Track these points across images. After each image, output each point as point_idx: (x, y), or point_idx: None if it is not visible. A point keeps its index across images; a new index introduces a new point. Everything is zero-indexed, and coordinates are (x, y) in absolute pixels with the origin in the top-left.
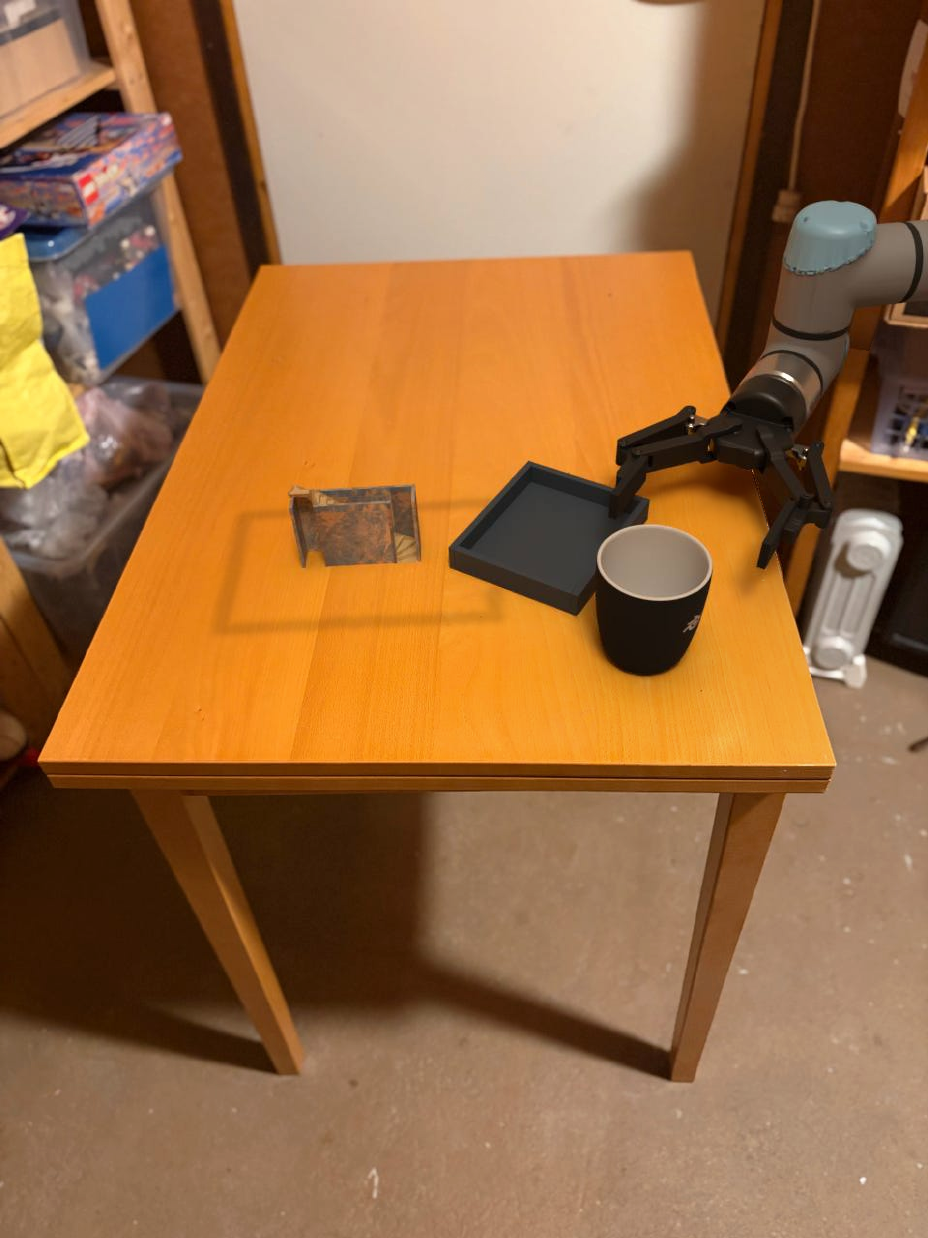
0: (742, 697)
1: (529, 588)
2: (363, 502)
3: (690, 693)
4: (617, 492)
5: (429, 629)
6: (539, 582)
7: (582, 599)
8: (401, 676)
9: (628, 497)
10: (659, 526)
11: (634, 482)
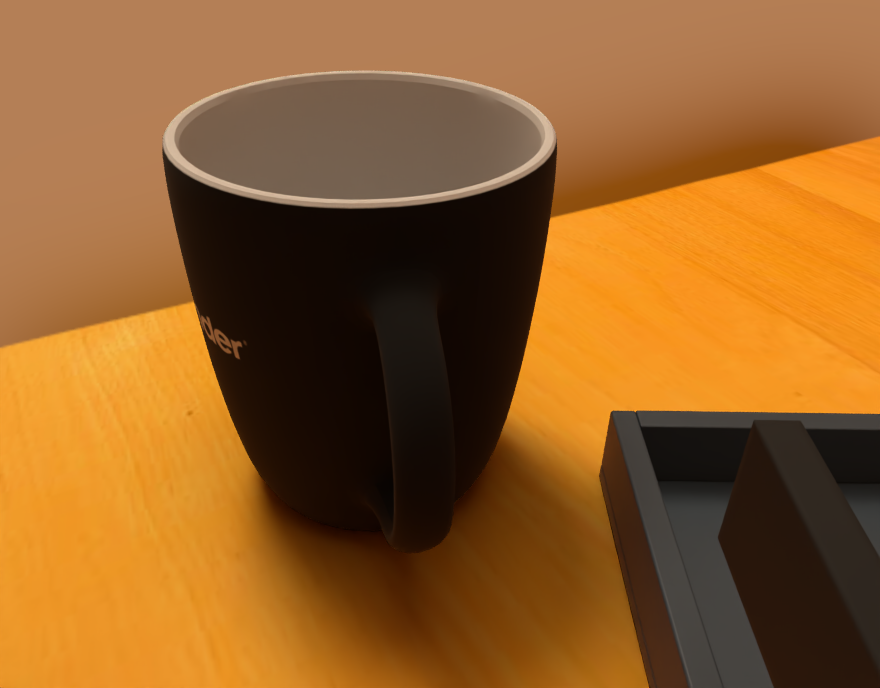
0: (79, 431)
1: None
2: None
3: (214, 400)
4: (778, 438)
5: (847, 337)
6: (746, 413)
7: (610, 466)
8: (769, 263)
9: (778, 633)
10: (415, 197)
11: (825, 655)
